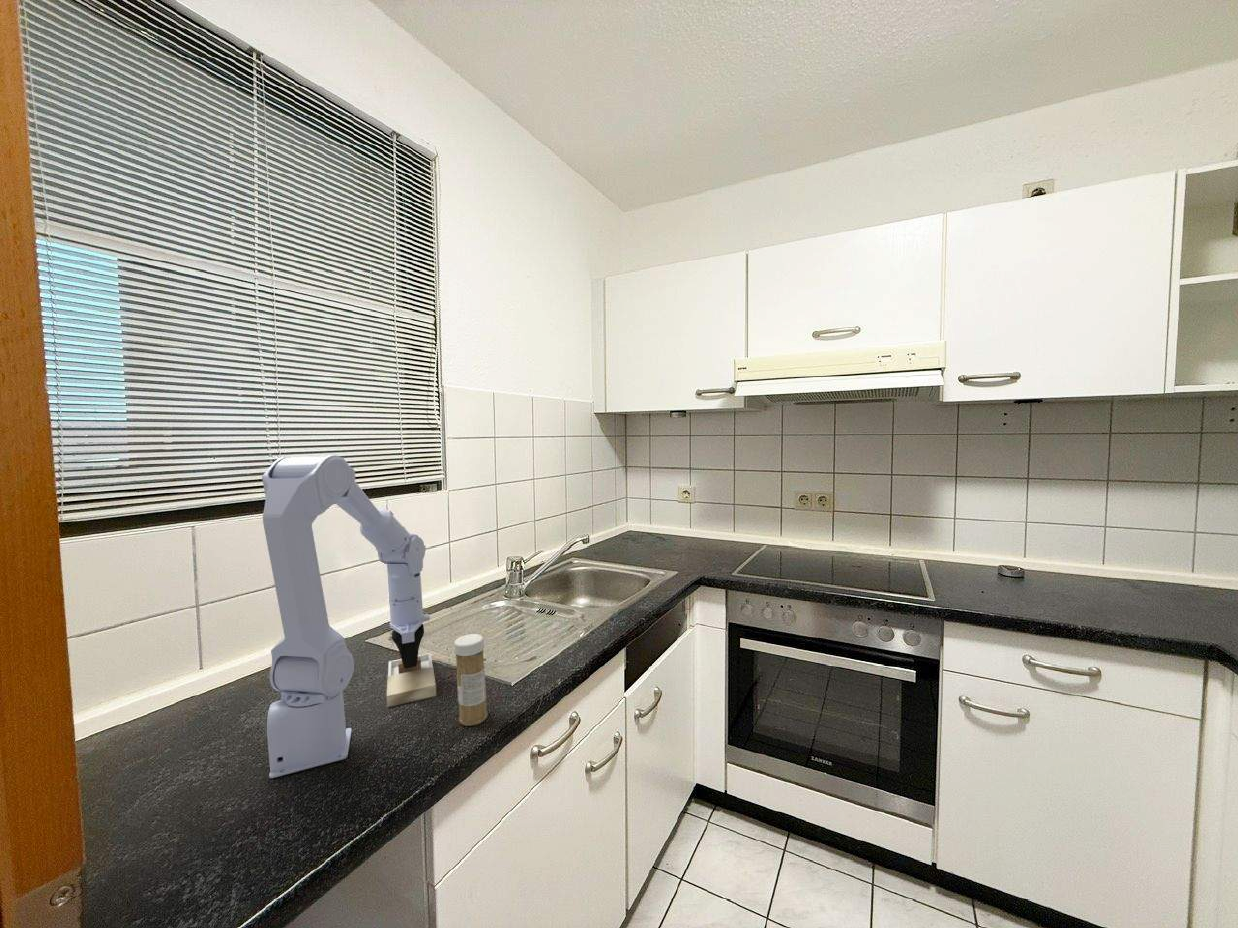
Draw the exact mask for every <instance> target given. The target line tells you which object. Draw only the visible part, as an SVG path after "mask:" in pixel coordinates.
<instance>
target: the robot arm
mask: <svg viewBox="0 0 1238 928" xmlns="http://www.w3.org/2000/svg"><path fill="white" fill-rule="evenodd" d="M261 479H262V484H263V489H264V494H265V496H264V497H265V501H264V508H263V513H262V514H263V515H262V524H263V529H264V534H265V540H266V545H267V551H268V556H269V560H270V561H269V562H270V565H271V571H272V576H273V583H274V586H275V593H276V598H277V603H278V608H279V615H280V618H281V625H282V630H283V636H284V637H282V638H281V639H280V640H279V641H278V642H277V643H276V644H275V645H274V646H273V647H272V648H271V650H270V653H271V654H270V655H271V665H270V671H269V683H270V685H271V687H272V688H273V689H274V691H276V692H280V700H276V701H273V702H271V703H270V706H269V708H268V711H267V719H266V720H267V721H266V737H267V751H268V759H269V771H270V772H269V774H268V777H269V779H274V778H279V777H282V776H285V775H289V774H293V773H297V772H300V771H305V770H308V769H312V768H315V767H316V768H317V767H321V766H324V765H326V764H327V765H328V764H331V763H334V762H337V761H343V760H346V758H348V755H349V751H350V750H349V749H350V743H351V738H352V731H353V729H352V727H347V728H346V715H345V714H346V713H345V702H344V690H346V689H347V688H348V685H349V683H350V681H351V679H352V677H353V675H354V672H355V659H354V656H353V654H352V652H351V651H350V650H349V648H348V647H347V642H346V638H345V637H344V636H343V635H342V634H341V633H339V632H338V631H336V629H334V628H333V627H332V626H331V625H330V624H329V619H328V617H329V616H328V614H327V613H328V612H327V607H326V600H325V595H324V590H323V582H322V577H321V573H320V572H321V571H320V566H319V560H318V556H317V555H318V554H317V548H316V542H315V538H314V532H313V523H314V522H315V521H316V519H317V517H319V516H321V515H323V514H324V513H325V512H326V511H327V510H328V509H329V508H331V506H333V505H334V504H335V505H336V506H337V507H339V508H340V509H342V511H344V512H345V513H346V514H347V515H349V516H350V517H352V519H354V520H356V522H358V523H359V533H360V534H361V536H363V537H364V539H366V540H367V541H368V542H369V543H370V544H371V545H372V546H374V548H375V551H376V552H377V556H378V559H379V562H380V563H383V564H385V565H386V570H387V571H386V572H387V584H388V585H387V586H388V587H387V588H388V600H389V615H390V617H389V618H390V620H389V627H390V629H392V631H391V640H392V641H393V643H394V644H395V645H396V647H397V649H398V651H399V655H400V659H402V663H403V666H404V668H405V669H406V668H411V667H415V666H416V665H417V659H418V655H419V649H420V645H421V642H422V639H423V637H424V634H425V628H424V627H425V626H424V624H423V623H424V622H428V621H430V620H431V617H430V616H431V615H430V614H429V613H425V614H424V608H423V595H422V594H423V593H422V591H423V590H422V578H421V577H422V576H421V572H422V571H423V568H424V558H425V554H426V550H427V549H426V548H427V547H426V545H425V543H424V540H423V539H422V538H421V537H420V536H419V535H418V534H415V533H414V534H413V533H412V534H411V533H410V532H409V531H408V530H407V529H406V527H405V526H404V525H402V524H401V523H400V522H399V520H397V519H396V517H395V516H394V513H393V512H392V511H391V510H387V509H378V508H377V507H376V506H375V504H374V503H373V502H372V501H371V499H370V498H369V497H368V496H367V495H366V493H365V492H364V491H363V489H362V488H361V487H360V485H359V484H358V483H357V482H356V471H355V469H354V468H353V467H351V466H350V465H349V463H348V462H347V460H346V459H345V458H344V457H342V456H340V455H337V454H335V455H327V456H305V457H291V456H289V457H288V456H285V457H280V458H277V459H276V460H275V461H273V463H272V464H271V465H270V466H269V467H268V468H267V470H266V471H265V472H264V473H263V475H262V476H261Z"/></svg>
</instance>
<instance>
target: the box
mask: <svg viewBox="0 0 1238 928" xmlns="http://www.w3.org/2000/svg"><path fill="white" fill-rule="evenodd" d="M418 657H420V659H421V669H425V668H429V667H433V668H434V665H433V659H432V654H431V652H429V653H422V654H418ZM399 661H402V659H401V658H400V659H394V660H388V664H387V665H388V667H387V668H388V669H387V677H388V676H392V675H396V674H399V668H398V662H399Z"/></svg>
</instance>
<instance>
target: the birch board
mask: <svg viewBox="0 0 1238 928" xmlns="http://www.w3.org/2000/svg"><path fill="white" fill-rule="evenodd" d="M434 670H435V669H434V666H433V667H429V668H425V669H420V670H415V671H411V672H406V673H401V674H396V675H392V676H388V675H387V680H386V681H387V682H386V706H387V708H390V707H394V706H399V705H404V704H407V703H410V702H411V703H412V702H415V701H416V702H417V701H419V700H425V699H428V698H434V697H437V684H436V679H435V677H436V676H435V671H434Z"/></svg>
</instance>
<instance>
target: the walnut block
mask: <svg viewBox="0 0 1238 928" xmlns="http://www.w3.org/2000/svg"><path fill="white" fill-rule="evenodd" d="M398 668H399V674H401V673H406V672H411V671H415V670H420V669H421V659H420V657H418V659H417V665H416V666H415V667H411V668H406V669H405V668H404V666H403V663H402V661H399V662H398Z"/></svg>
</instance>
